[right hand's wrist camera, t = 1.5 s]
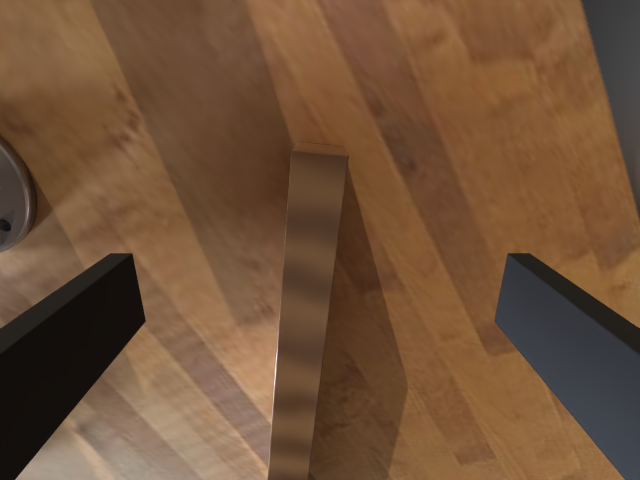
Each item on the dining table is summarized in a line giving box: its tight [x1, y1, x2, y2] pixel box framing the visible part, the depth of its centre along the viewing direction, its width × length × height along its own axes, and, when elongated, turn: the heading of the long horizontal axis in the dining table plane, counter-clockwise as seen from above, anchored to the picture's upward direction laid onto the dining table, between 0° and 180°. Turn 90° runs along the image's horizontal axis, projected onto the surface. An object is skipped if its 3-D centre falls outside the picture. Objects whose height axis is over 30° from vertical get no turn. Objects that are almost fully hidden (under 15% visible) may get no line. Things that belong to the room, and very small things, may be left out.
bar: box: [268, 142, 349, 480], centre depth 42 cm, size 62×5×8 cm, turn 174°
